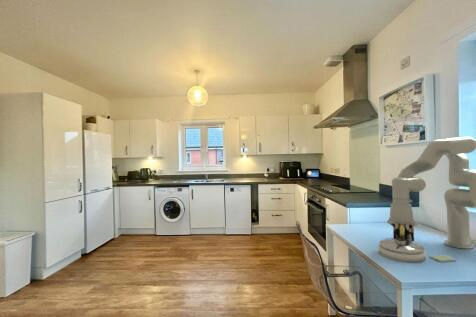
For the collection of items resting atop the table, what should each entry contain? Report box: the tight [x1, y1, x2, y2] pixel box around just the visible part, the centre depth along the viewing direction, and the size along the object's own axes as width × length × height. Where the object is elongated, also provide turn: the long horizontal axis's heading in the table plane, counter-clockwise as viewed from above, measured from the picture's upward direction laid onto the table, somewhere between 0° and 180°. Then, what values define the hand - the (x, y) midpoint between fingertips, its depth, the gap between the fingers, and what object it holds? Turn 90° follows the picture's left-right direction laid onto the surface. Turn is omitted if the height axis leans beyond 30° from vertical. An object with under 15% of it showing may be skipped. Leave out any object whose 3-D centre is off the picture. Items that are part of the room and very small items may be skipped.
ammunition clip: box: [392, 223, 415, 242], centre depth 158 cm, size 11×2×12 cm, turn 58°
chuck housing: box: [378, 243, 427, 264], centre depth 132 cm, size 20×20×3 cm
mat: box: [429, 254, 457, 263], centre depth 126 cm, size 8×6×1 cm
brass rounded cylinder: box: [398, 223, 406, 239], centre depth 137 cm, size 3×3×9 cm
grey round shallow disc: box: [379, 236, 425, 254], centre depth 132 cm, size 19×19×4 cm
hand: (402, 236), depth 137 cm, fingers closed on brass rounded cylinder, 3 cm apart
